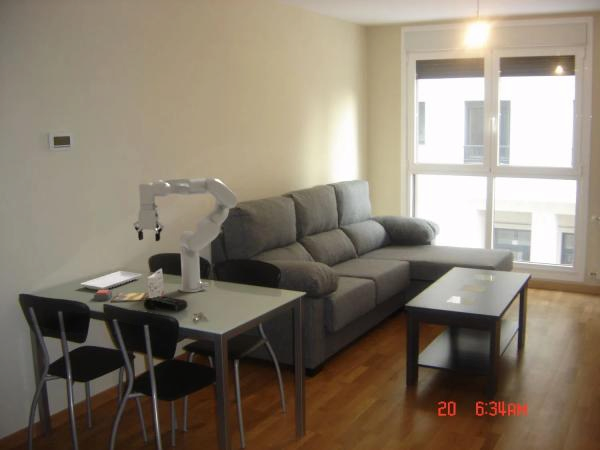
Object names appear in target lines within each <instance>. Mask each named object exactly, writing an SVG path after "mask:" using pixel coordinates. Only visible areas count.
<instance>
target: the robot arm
mask: <svg viewBox="0 0 600 450" xmlns="http://www.w3.org/2000/svg"><path fill="white" fill-rule="evenodd" d="M138 192H139V210H138V214H137V215H138V216H137V218H138V220H137V221H136V222H134V223H133V224H132V225H133V227H134V229H135V230H136V233H138V234H137V237H138V241H142V240H144V232H143V231H144V230H147V231H148V230H149V231H151V230H153V231H154V232H155V235H154V237H155V242H160V240H161V233H162V231H163V230H164V228H165V224H164V223H162V222H160V217H159V211H158V209H156V208H158V204H156V197H159V198H160V197H161V198H166V197H168V196H169V195H171V194H173V195H174V194H176V195H183V196H193V195H194V196H195V195H207V194H209V195H212V196H213V197H214V198H215V204H214V207H213V209H211V210H212V211H210V212H209V213H208V214H206V215H205V216H204V217H203V218H201V219H199V221H198V222H197V223H196V226H195V230H196V231H192V230H185V231H183V232H182V233H181V234H180V236H179V238H178V244H179V245H178V246H179V251H180V266H181V267H180V268H181V286H180V287H179V289H178V290H179V292H183V293H197V292H200V291H203V290H204V287H209V285H210V284H209V282H207V281H202V279H201V270H200V267H201V266H200V251H202V250H203V249H204V248H205V247H207V246H209V244H210V243H212V242H213V241H214V240H215V239H216V238H217V237H218V236H219V233H220V229H221V227H220V226H221V224H223V223H224V222H225V220H227V218H228V216H229V213H230V209H234V208H235V207H236V206H237V205H238V203H239V199H238V196H237V194H236V193H234V191H232V190H231V188H229V187H228V186H227V185H226V184H225V183H223V182H222V181H221V180H220V179H218V178H215V177H209V176H207V177H196V178H193V177H192V178H179V179H177V178H176V179H175V178H174V179H172V178H171V179H158V180H155V181H153V182H146V181H145V182H141V183H139V185H138Z"/></svg>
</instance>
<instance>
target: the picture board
mask: <svg viewBox="0 0 600 450" xmlns="http://www.w3.org/2000/svg"><path fill="white" fill-rule="evenodd" d="M148 299H149V292H127V293H126V292H125V293H118V292H117V293H116V294H115V296H114V297H112V298H111V299H110V303H122V302H123V303H133V302H135V303H136V302H137V303H138V302H139V303H140V302H142V301H144V302H146V301H147V300H148ZM145 300H146V301H145ZM142 303H143V302H142Z"/></svg>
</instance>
